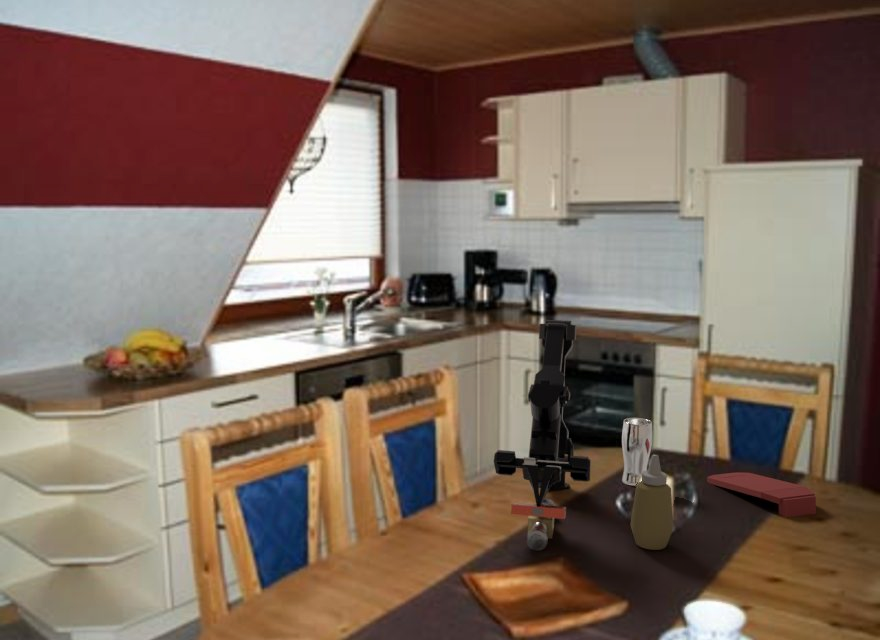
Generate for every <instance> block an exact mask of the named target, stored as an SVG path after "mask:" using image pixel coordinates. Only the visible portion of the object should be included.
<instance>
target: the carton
mask: <svg viewBox="0 0 880 640" xmlns="http://www.w3.org/2000/svg"><path fill="white" fill-rule="evenodd" d="M706 481H707V483H708V484H710V485H713V486H718V487H720V488H725V489H728V490H731V491H735V492H738V493H742V494H745V495H748V496H752V497H756V498H760V499H762V500H765V501H769V502H771V503H775V504H777V505H778V515H779V516H781V517H783V518H785V519H786V518H794V517H801V516H808V515H815V514H817V504H816V503H817V502H816V500H817V499H816V496H815V493H814V492H813V491H812V490H811V489H809V488H808V487H807V486H804V485H800V484H796V483H792V482H788V481H784V480H780V479H776V478H772V477H769V476H768V477H767V476H763V475H760V474H757V473H756V474H755V473H752V472H730V473H729V472H727V473H721V474H720V473H718V474H712V475H710V476H707V477H706Z"/></svg>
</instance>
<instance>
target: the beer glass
mask: <svg viewBox="0 0 880 640" xmlns="http://www.w3.org/2000/svg"><path fill="white" fill-rule="evenodd" d="M622 424H623V425H622V431H621V432H622V433H621V446H622V447H621V448H622V456H623V465H624V468H623V473H622V478H621V482H622V483H623V484H625V485H628V486H630V487H632V486H633V487H636V484H637V482H638V479H639V477H641V476H642V472H643V471H646V470H648V464H649V460H650V454H651V451H652V446H653V445H652V443H653V422H652V420H649V419H646V418H641V417H627V418H625V419H623V423H622Z"/></svg>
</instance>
